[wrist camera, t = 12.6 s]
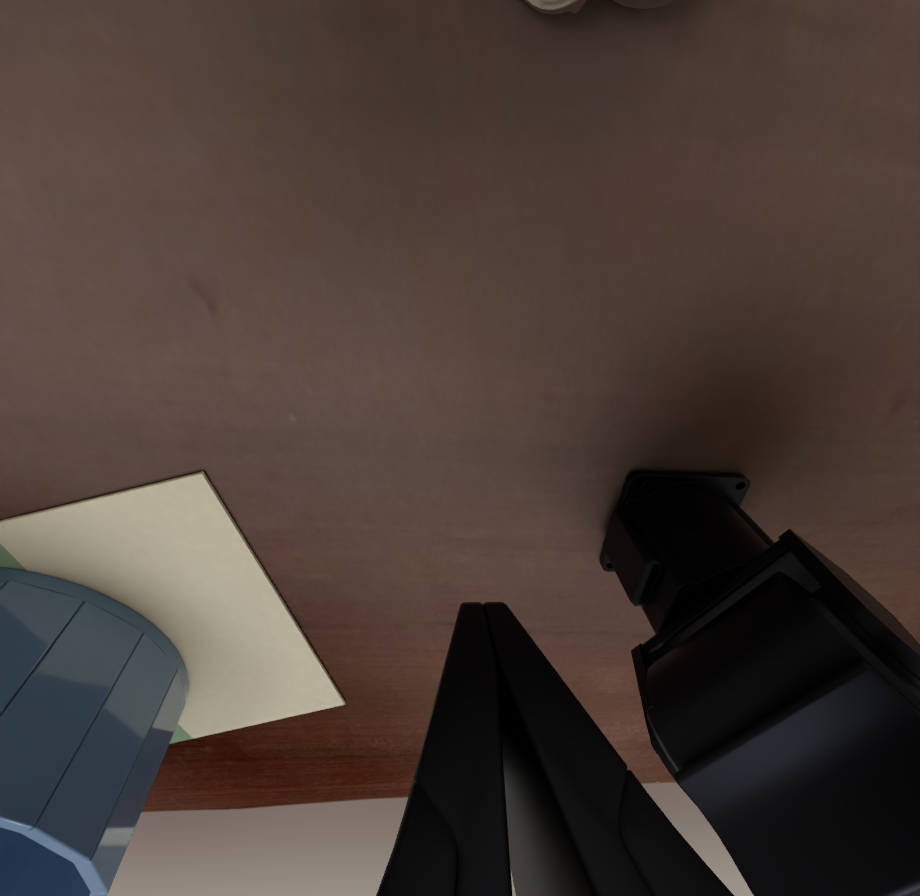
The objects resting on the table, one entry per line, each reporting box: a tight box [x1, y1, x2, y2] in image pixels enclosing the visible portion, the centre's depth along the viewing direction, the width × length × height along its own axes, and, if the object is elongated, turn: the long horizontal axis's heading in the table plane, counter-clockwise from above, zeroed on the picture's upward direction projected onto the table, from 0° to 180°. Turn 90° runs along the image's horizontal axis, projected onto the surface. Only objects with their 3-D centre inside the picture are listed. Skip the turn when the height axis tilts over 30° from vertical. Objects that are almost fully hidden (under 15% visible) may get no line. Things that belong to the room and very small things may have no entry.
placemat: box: [0, 471, 345, 744], centre depth 27 cm, size 20×19×1 cm
